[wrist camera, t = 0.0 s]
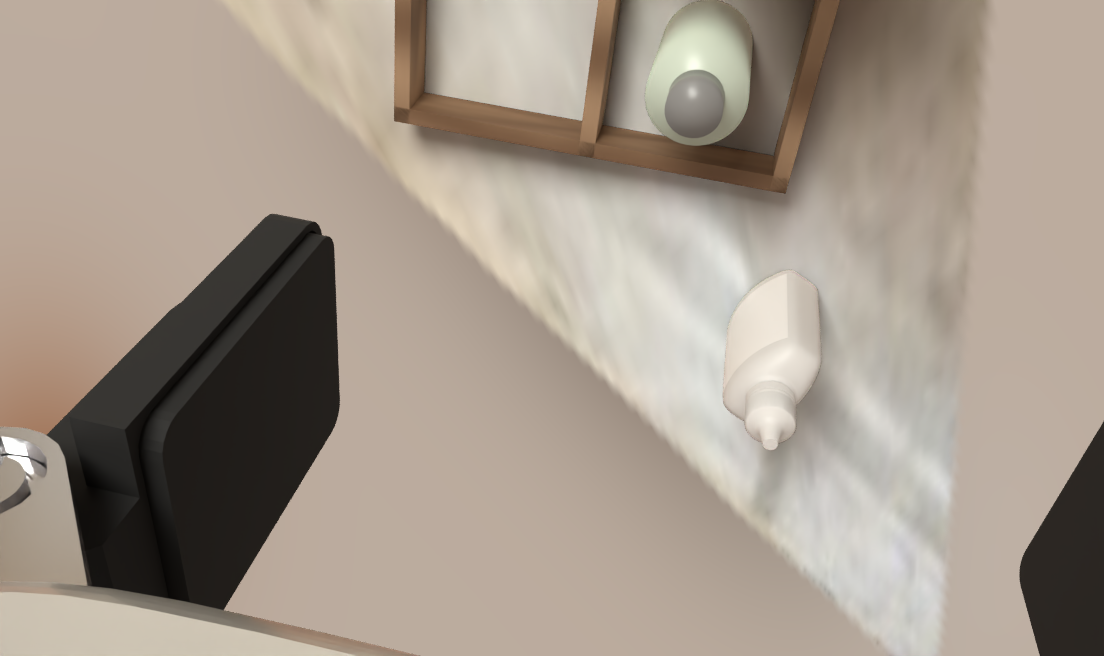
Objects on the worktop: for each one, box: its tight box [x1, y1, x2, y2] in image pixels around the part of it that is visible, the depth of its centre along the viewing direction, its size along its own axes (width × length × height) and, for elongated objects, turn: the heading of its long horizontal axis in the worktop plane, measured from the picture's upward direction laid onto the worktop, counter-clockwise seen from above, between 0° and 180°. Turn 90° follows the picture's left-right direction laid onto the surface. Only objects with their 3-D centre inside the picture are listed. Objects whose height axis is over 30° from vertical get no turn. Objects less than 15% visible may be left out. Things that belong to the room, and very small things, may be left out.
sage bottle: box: [645, 0, 753, 146], centre depth 42 cm, size 4×4×9 cm
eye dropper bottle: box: [723, 270, 821, 450], centre depth 48 cm, size 4×6×12 cm
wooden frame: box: [394, 0, 840, 194], centre depth 45 cm, size 12×20×2 cm, turn 83°
